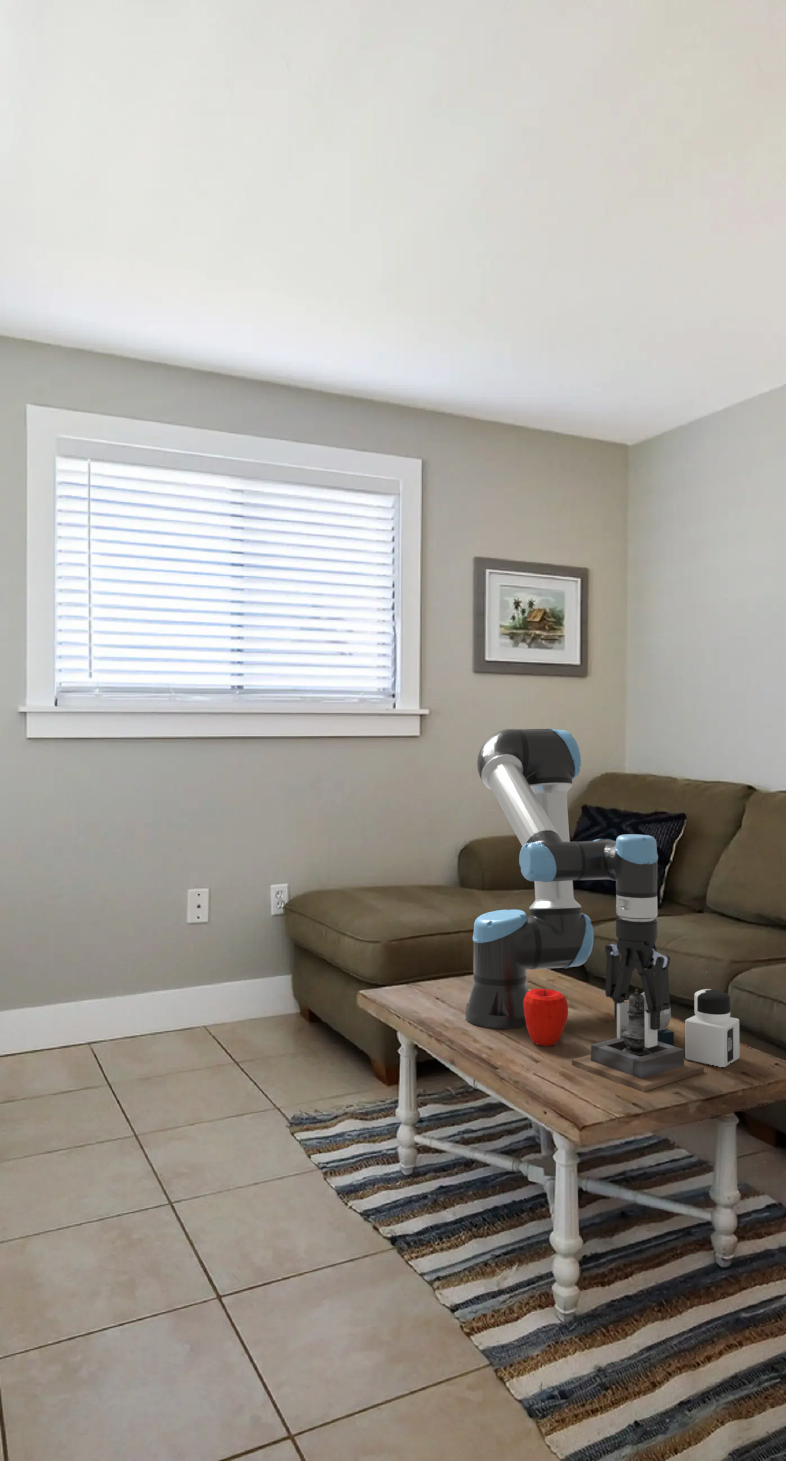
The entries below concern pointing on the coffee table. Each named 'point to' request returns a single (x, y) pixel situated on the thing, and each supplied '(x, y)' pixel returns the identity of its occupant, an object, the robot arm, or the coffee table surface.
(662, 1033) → the watch
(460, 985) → the coffee table surface
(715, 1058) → the container
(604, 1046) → the holder
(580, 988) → the coffee table surface
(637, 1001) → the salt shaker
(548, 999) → the apple
